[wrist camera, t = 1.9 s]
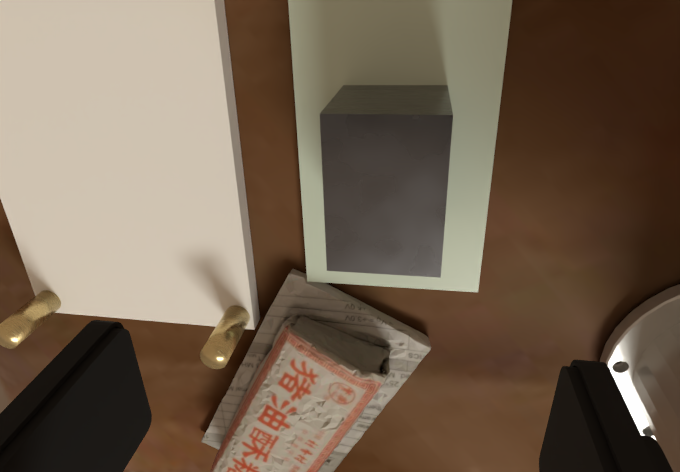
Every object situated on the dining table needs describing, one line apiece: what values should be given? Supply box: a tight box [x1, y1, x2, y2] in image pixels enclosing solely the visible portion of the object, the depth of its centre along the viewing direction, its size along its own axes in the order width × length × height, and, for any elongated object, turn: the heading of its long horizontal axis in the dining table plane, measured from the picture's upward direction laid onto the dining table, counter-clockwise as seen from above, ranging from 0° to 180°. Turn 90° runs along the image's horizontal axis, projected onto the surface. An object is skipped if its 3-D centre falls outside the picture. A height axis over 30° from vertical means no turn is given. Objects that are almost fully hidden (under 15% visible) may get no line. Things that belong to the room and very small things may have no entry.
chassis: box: [0, 0, 260, 369], centre depth 27 cm, size 15×21×5 cm
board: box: [288, 0, 512, 292], centre depth 23 cm, size 10×16×7 cm, turn 2°
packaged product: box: [202, 269, 431, 472], centre depth 33 cm, size 18×5×10 cm
